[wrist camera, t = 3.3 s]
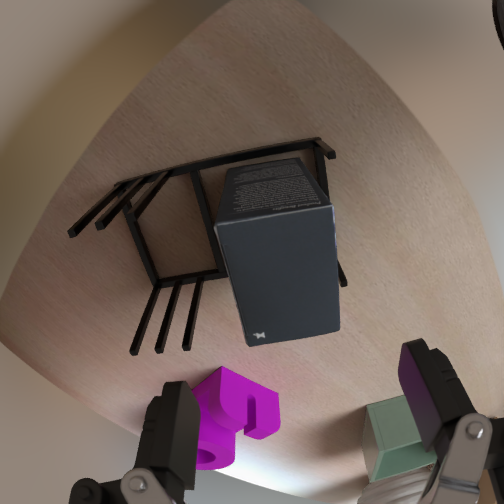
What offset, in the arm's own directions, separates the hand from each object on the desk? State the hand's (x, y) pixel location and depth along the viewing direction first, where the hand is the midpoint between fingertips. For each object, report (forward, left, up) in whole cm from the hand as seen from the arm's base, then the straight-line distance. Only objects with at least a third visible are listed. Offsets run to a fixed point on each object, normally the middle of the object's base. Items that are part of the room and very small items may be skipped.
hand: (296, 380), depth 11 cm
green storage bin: (-15, +37, -16) cm, 43 cm away
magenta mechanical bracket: (+12, +25, -17) cm, 32 cm away
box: (0, 0, -17) cm, 17 cm away
